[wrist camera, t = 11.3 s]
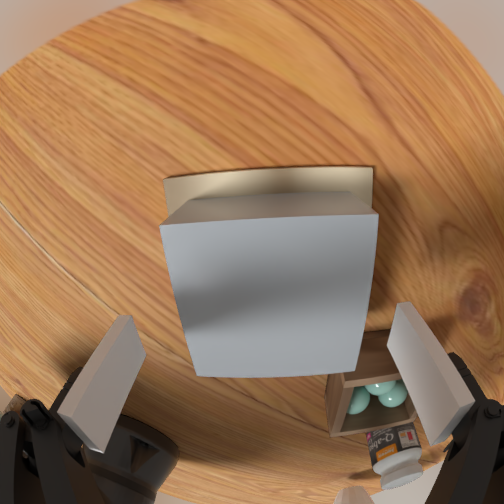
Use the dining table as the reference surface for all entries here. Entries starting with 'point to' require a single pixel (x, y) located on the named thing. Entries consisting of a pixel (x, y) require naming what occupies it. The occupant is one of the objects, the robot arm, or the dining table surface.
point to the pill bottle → (395, 455)
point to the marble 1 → (358, 400)
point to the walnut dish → (366, 373)
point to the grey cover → (272, 281)
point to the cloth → (269, 183)
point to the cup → (353, 496)
